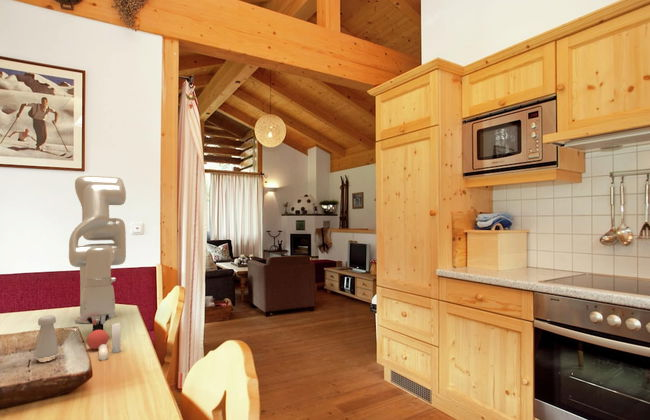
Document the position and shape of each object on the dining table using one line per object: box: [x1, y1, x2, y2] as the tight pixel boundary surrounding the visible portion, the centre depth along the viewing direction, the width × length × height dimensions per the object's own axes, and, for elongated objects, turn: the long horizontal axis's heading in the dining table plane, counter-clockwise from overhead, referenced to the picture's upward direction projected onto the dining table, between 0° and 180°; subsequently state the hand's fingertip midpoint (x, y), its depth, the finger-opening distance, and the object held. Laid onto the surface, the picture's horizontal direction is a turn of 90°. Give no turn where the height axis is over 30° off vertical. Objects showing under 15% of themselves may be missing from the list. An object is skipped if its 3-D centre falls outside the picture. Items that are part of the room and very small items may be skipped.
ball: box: [86, 329, 109, 350], centre depth 122 cm, size 6×6×6 cm
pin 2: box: [111, 322, 122, 354], centre depth 119 cm, size 2×2×9 cm
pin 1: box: [98, 344, 109, 361], centre depth 115 cm, size 2×2×9 cm
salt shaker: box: [34, 314, 59, 358], centre depth 112 cm, size 6×6×13 cm
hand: (97, 335), depth 131 cm, fingers closed
